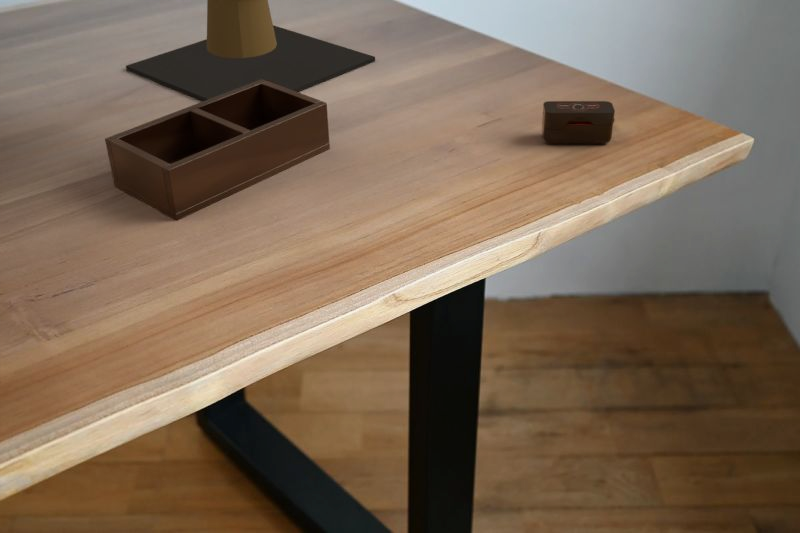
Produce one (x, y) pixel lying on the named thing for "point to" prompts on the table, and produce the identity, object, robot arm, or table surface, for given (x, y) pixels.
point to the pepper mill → (239, 28)
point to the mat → (251, 66)
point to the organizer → (217, 147)
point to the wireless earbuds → (577, 121)
